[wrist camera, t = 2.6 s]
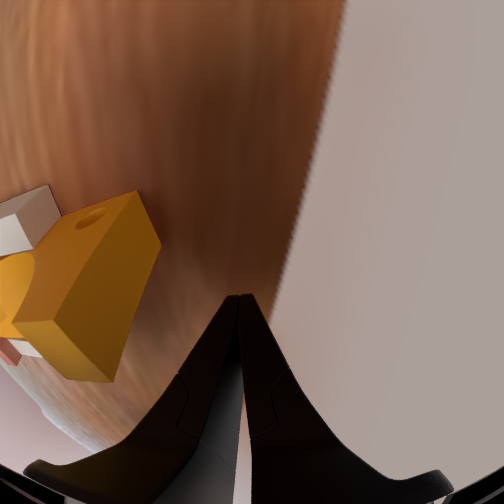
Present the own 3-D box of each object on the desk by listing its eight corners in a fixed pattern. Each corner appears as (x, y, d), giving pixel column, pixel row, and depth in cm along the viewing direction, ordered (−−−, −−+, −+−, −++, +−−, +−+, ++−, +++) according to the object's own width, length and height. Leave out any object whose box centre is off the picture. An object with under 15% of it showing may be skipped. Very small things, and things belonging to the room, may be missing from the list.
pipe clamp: (22, 300, 14) (-20, 379, 9) (-14, 248, 12) (-70, 324, 7) (177, 274, 13) (144, 409, 8) (138, 188, 10) (52, 319, 5)
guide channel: (126, 331, 15) (110, 382, 13) (9, 327, 16) (-8, 360, 14) (47, 182, 10) (-2, 226, 7) (-54, 228, 11) (-82, 260, 8)
